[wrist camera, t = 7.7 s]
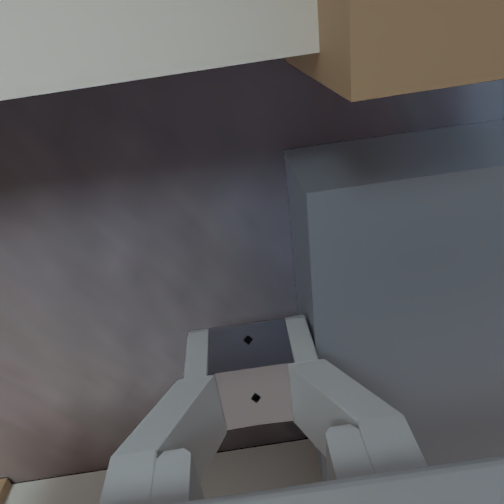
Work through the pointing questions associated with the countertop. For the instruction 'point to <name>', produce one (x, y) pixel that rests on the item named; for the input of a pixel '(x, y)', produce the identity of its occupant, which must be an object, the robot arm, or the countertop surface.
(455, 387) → the cover plate
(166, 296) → the countertop surface
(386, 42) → the pair of white bars
